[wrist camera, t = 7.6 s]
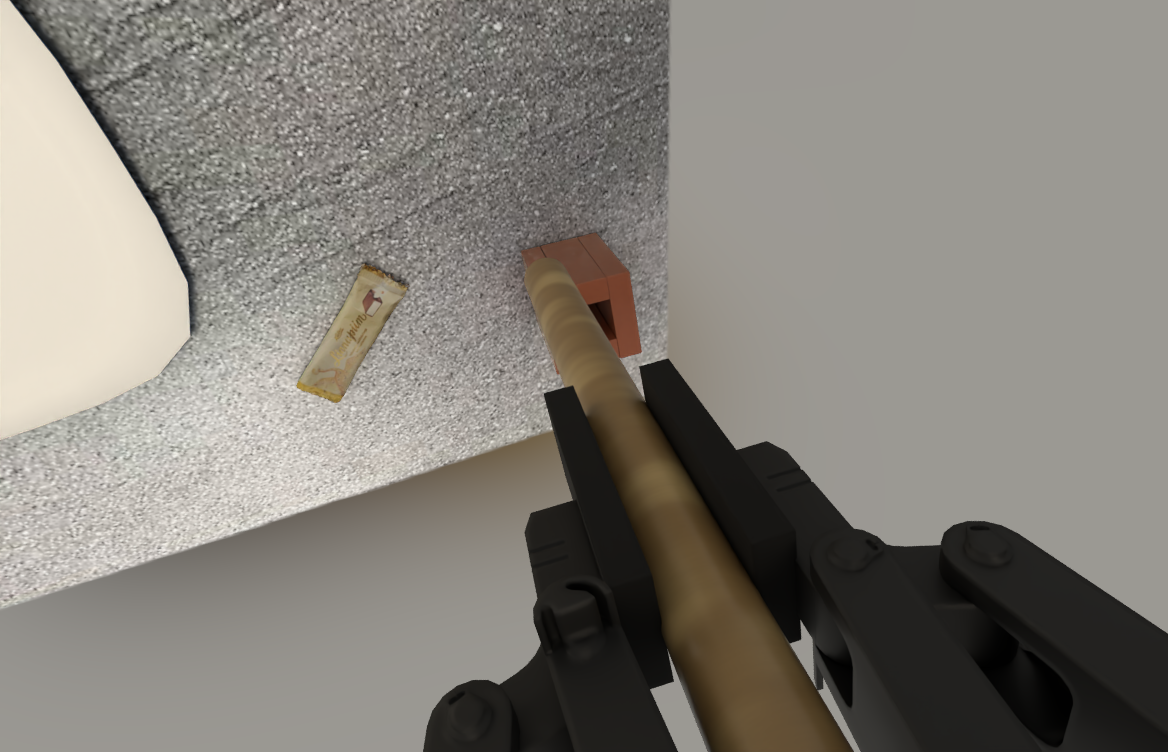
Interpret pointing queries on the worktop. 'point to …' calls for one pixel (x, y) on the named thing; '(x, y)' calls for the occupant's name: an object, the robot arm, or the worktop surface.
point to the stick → (684, 552)
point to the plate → (73, 250)
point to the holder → (596, 287)
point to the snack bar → (352, 334)
